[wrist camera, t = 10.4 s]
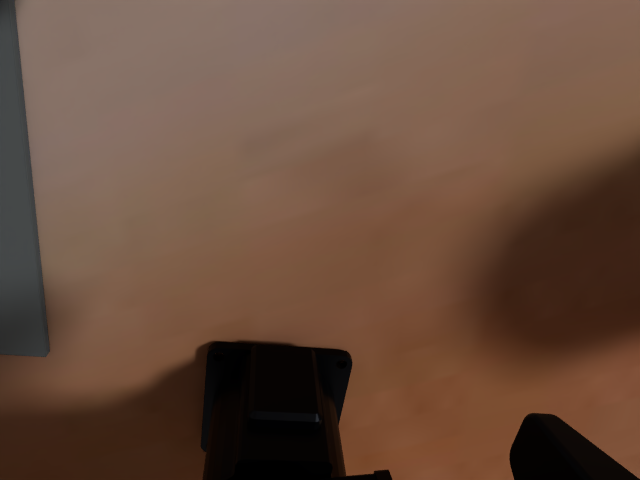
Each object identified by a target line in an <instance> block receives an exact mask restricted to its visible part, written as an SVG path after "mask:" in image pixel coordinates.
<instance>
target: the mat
mask: <svg viewBox="0 0 640 480" xmlns="http://www.w3.org/2000/svg"><path fill="white" fill-rule="evenodd" d="M49 351H50V349H49V339H48V329H47V319H46V309H45V299H44V289H43V279H42V270H41V260H40V250H39V240H38V230H37V220H36V210H35V200H34V190H33V180H32V170H31V160H30V151H29V141H28V131H27V121H26V111H25V101H24V91H23V81H22V71H21V61H20V51H19V42H18V32H17V22H16V12H15V2H14V0H0V354H4V355H21V356H38V357H46V356H47V355H48V353H49Z"/></svg>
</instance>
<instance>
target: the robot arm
mask: <svg viewBox="0 0 640 480" xmlns="http://www.w3.org/2000/svg"><path fill="white" fill-rule="evenodd" d="M218 352H220V353H223V355H220V356H219V355H216V354H215V353H218ZM340 360H344V362H343V363H337V362H338V361H340ZM351 369H352V359H351V355H350V354H349V353H348V352H347V351H344V350H332V349H317V348H302V347H287V346H272V345H257V344H242V343H227V342H216V343H214V344H212V345H211V346H210V347H209V349H208V354H207V366H206V380H205V394H204V408H203V423H202V437H201V448H202V449H203V451H205V452H206V458H205V465H204V473H203V480H392V477H391V475H390V472H389V470H379V471H374V474H364V475H352V476H346V472H345V465H344V459H343V452H342V446H341V439H340V433H339V426H338V425H339V420H340V416H341V412H342V407H343V403H344V399H345V394H346V390H347V386H348V381H349V377H350V373H351ZM510 465H511V469H512V473H513V477H514V480H640V479H639V478H637V477H636V476H635V475H633V474H632V473H631V472H629V471H628V470H627V469H626V468H624V467H623V466H622V465H620V464H619V463H618V462H616V461H615V460H614V459H612V458H611V457H610V456H608V455H607V454H606V453H605V452H603V451H602V450H601V449H599V448H598V447H597V446H595V445H594V444H593V443H591V442H590V441H589V440H588V439H586V438H585V437H584V436H582V435H581V434H580V433H578V432H577V431H576V430H574V429H573V428H572V427H570V426H569V425H568V424H567V423H565V422H564V421H563V420H561V419H560V418H559V417H557V416H555V415H552V414H540V413H531V414H528V415H527V416H526V417H525V418H524V420H523V422H522V424H521V426H520V429H519V431H518V433H517V435H516V438H515V440H514V442H513V444H512V447H511V450H510Z"/></svg>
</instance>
